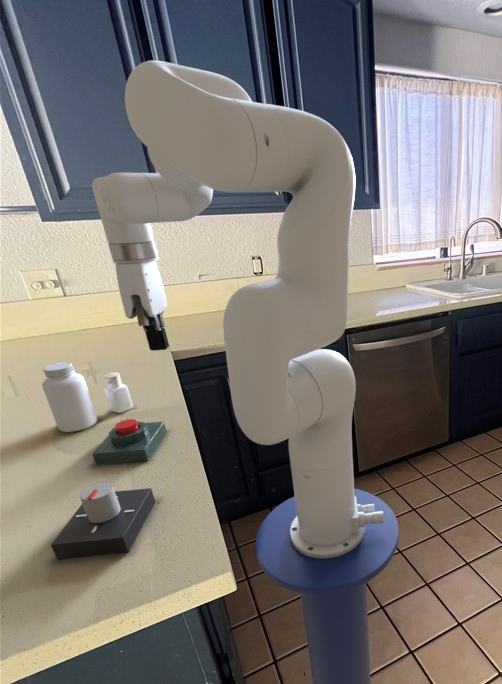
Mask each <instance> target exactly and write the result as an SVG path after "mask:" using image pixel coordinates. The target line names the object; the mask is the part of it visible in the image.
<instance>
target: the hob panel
mask: <svg viewBox="0 0 502 684" xmlns="http://www.w3.org/2000/svg"><path fill="white" fill-rule="evenodd" d="M114 491H115V490H114ZM115 494H116V497H117V499H118V502H119V505H120V508H121V510H120V512H119V514H118V515H117V516H115V517H114V518H112V519H110V520H108V521H106V522H102V523H92V522H90V521H89V519H88V516H87V514H86V511H85V509H84V506H83V504H82V503H81V504H80V505H79V507H78V509H77V510H76V511H75V512H74V513H73V515H72V517H70V519H69V521H67V523H66V524H65V525H64V526H63V528H62V529H61V531H60V532H59V533H58V535H56V537H55V539H54V540H53V541H52V542H51V543H50V547H51V549H52V552H53V554H54V556H55V558H56V560H57V561H61V560H70V559H71V560H72V559H80V558H88V557H97V556H99V557H100V556H108V555H116V554H117V555H118V554H126V553H127V554H128V553H129V552H130V550H131V549H132V546H133V545H134V543H135V541H136V539H137V537H138V535H139V534H140V531H141V529H142V528H143V526H144V524H145V523H146V521H147V518H148V516H149V515H150V513H151V511H152V509H153V507H154V505H155V504H156V499H155V496H154V493H153V489H152V488H151V487H149V488H139V489H137V488H136V489H129V490H127V489H125V490H116V491H115Z"/></svg>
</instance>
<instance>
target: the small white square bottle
mask: <svg viewBox="0 0 502 684" xmlns="http://www.w3.org/2000/svg"><path fill="white" fill-rule="evenodd" d="M103 377H104V381H105V383H106V385H107V387H105V388H104V394H105V397H106V399H107V402H108V405H109V408H110V410H111V411H112V412H115V413H119V414H122V413H124V412H127V411H128V410H130V409H133V408H134V404H133V401H132V397H131V394H130V391H129V387H128V386H127V385H126V384H124V383H123V382H122V378H121V375H120V373H119V372H110V373H106V374H105V375H104V376H103Z"/></svg>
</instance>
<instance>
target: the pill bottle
mask: <svg viewBox="0 0 502 684" xmlns="http://www.w3.org/2000/svg"><path fill="white" fill-rule="evenodd" d="M43 372H44V373H43V374H44V375H45V377H46V378H45V380H43V382H42V390H43V392H44V395H45V397H46V400H47V403H48V405H49V408H50V410H51V413H52V416H53V418H54V422H55V423H56V426H57V429H58V430H59V431H61V432H64V433H74V432H78V431H82V430H86V429H89V428H90V427H92V426H94V425H95V424H96V423H97V422H98V415H97V412H96V409H95V406H94V404H93V400H92V397H91V394H90V391H89V388H88V385H87V382H86V379H85V377H84V376H83V375H82V374H81V373H78V372H76V371H75V368H74V366H73V363H72V362H69V361H59V362H55V363H50V364H48V365H46V366H44V367H43Z"/></svg>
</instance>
